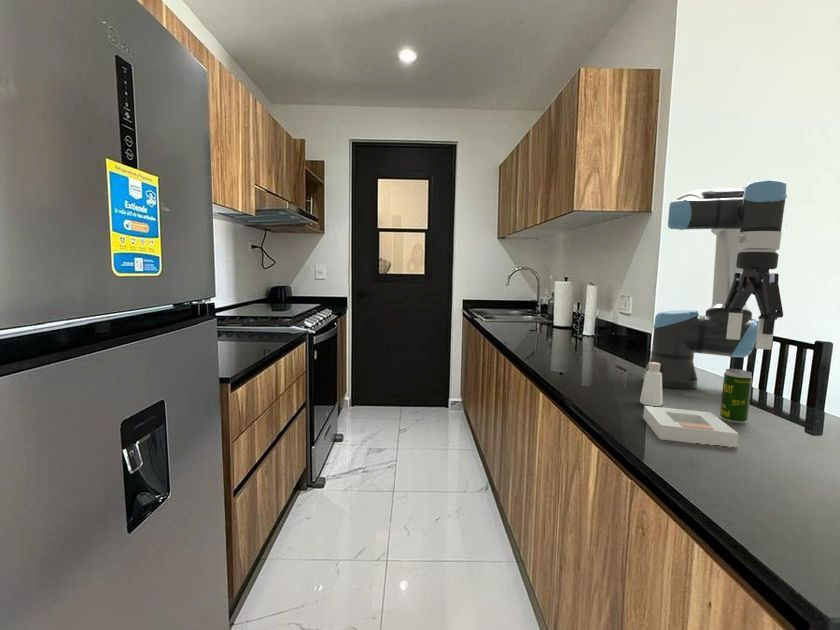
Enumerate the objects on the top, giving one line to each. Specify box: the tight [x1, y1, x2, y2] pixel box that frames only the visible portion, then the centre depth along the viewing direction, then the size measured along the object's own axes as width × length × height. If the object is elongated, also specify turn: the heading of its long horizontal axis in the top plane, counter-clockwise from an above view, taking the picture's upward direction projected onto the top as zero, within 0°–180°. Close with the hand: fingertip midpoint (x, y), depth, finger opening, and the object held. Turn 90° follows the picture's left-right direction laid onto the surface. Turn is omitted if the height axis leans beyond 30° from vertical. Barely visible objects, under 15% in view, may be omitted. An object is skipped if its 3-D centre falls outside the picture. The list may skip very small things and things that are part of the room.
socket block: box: [642, 405, 739, 448], centre depth 97 cm, size 14×14×3 cm
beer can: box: [719, 368, 753, 424], centre depth 105 cm, size 5×5×12 cm
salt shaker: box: [639, 361, 664, 407], centre depth 117 cm, size 5×5×11 cm
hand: (747, 343), depth 103 cm, fingers open, 13 cm apart
